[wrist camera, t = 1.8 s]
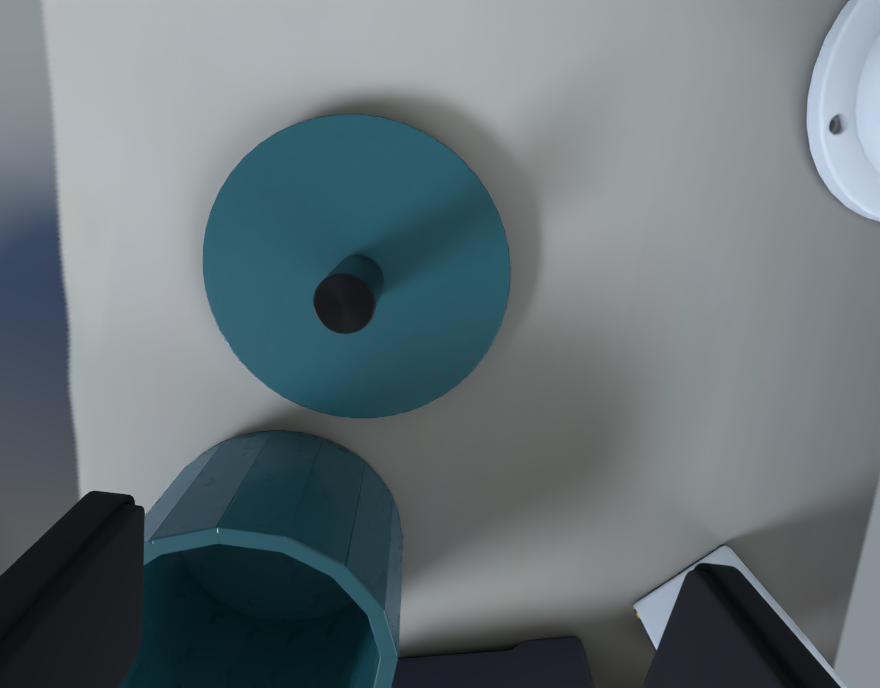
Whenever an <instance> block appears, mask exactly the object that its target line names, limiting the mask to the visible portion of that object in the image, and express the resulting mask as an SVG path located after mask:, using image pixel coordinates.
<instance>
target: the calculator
mask: <svg viewBox="0 0 880 688" xmlns="http://www.w3.org/2000/svg"><path fill="white" fill-rule="evenodd" d="M391 688H595V685H594V681H593V678H592V675H591V671H590V668H589V664H588V661H587V658H586V654H585V651H584V648H583V644H582V641H581V640H580V639H579V638H560V639H547V640H534V641H524V642H523V643H521V644H520V645H518V646H517V647H515V648H514V649H512V650H508V651H497V652H483V653H470V654H457V655H443V656H430V657H417V658H403V659H398V661H397V665H396V669H395V674H394V678H393V682H392V687H391Z"/></svg>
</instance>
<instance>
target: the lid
mask: <svg viewBox="0 0 880 688" xmlns="http://www.w3.org/2000/svg"><path fill="white" fill-rule="evenodd" d="M203 274H204V281H205V289H206V293H207V297H208V301H209V304H210V308H211V311H212V313H213V316H214V318H215V321H216V323H217V325H218V328H219V330H220V331H221V333H222V335H223V337H224V338H225V340H226V342H227V344H228V345H229V347H230V348H231V349H232V351H233V352H234V353H235V355H236V356H237V357H238V359H239V360H240V361H241V362H242V363H243V364H244V365H245V366H246V368H247V369H248V370H249V371H250V372H251V373H252V374H253V375H254V376H255V377H257V378H258V379H259V380H260V381H262V382H263V383H264V384H265V385H266V386H268V387H269V388H270V389H272V390H274V391H275V392H277V393H278V394H280V395H281V396H283V397H284V398H286V399H289V400H291V401H293V402H295V403H297V404H299V405H301V406H303V407H306V408H309V409H312V410H315V411H318V412H321V413H326V414H330V415H334V416H340V417H350V418H377V417H384V416H392V415H396V414H400V413H404V412H407V411H411V410H413V409H416V408H418V407H421V406H423V405H426V404H428V403H430V402H432V401H434V400H435V399H437V398H439V397H441V396H443V395H444V394H446V393H447V392H448V391H450V390H451V389H453V388H454V387H455V386H457V385H458V384H459V383H460V382H461V381H462V380H463V379H464V378H466V377H467V376H468V375H469V374H470V373H471V372H472V371H473V369H474V368H475V367H476V366H477V365H478V363H479V362H480V361H481V360H482V359H483V357H484V355H485V354H486V352H487V351H488V349H489V348H490V346H491V344H492V343H493V341H494V339H495V336H496V334H497V332H498V330H499V328H500V326H501V323H502V319H503V316H504V313H505V310H506V306H507V300H508V295H509V289H510V258H509V248H508V244H507V239H506V235H505V230H504V227H503V224H502V222H501V219H500V216H499V213H498V211H497V209H496V207H495V205H494V203H493V201H492V199H491V197H490V195H489V193H488V191H487V190H486V189H485V187H484V186H483V184H482V183H481V181H480V180H479V179H478V177H477V176H476V174H475V173H474V172H473V171H472V170H471V169H470V168H469V167H468V166H467V165H466V163H465V162H464V161H463V160H462V159H461V158H460V157H459V156H457V155H456V154H455V153H454V152H453V151H451V150H450V149H449V148H448V147H447V146H445V145H444V144H443V143H441V142H439V141H438V140H436V139H435V138H433V137H431V136H430V135H428V134H427V133H425V132H423V131H420V130H418V129H416V128H414V127H412V126H409V125H407V124H405V123H401V122H398V121H394V120H391V119H388V118H384V117H378V116H371V115H364V114H337V115H330V116H322V117H317V118H313V119H310V120H306V121H303V122H299V123H297V124H294V125H292V126H290V127H288V128H286V129H283V130H281V131H279V132H277V133H276V134H274V135H272V136H271V137H269V138H268V139H266V140H265V141H263V142H262V143H260V144H259V145H258V146H257V147H255V148H254V149H253V150H252V151H251V152H250V153H249V154H247V155H246V156H245V157H244V158H243V159H242V161H241V162H240V163H239V164H238V165H237V166H236V168H235V169H234V170H233V171H232V172H231V173H230V175H229V177H228V178H227V180H226V181H225V183H224V185H223V186H222V188H221V189H220V191H219V193H218V196H217V198H216V200H215V202H214V205H213V207H212V209H211V212H210V216H209V219H208V223H207V227H206V231H205V238H204V245H203Z"/></svg>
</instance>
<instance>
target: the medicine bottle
mask: <svg viewBox="0 0 880 688" xmlns="http://www.w3.org/2000/svg"><path fill="white" fill-rule="evenodd" d="M699 563H711V564H720V565H728V566H733V567H735V568H737V569H738V570H739V571H740V572H741V573H742V574H743V575H744V576H745V577H746V578H747V580H748V581H749V582H750V583H751V584H752V585H753V586H754V588H755V589H756V590H757V591H758V592H759V593H760V595H761V596H762V597H763V598H764V599H765V600H766V602H767V603H768V604H769V605H770V606H771V607H772V608H773V610H774V611H775V612H776V613H777V614H778V615H779V617H780V618H781V619H782V620H783V621H784V622H785V623H786V625H787V626H788V627H789V628H790V629H791V630H792V632H793V633H794V634H795V635H796V636H797V637H798V638H799V640H800V641H801V642H802V643H803V644H804V645H805V647H806V648H807V649H808V650H809V651H810V652H811V653H812V655H813V656H814V657H815V658H816V659H817V660H818V662H819V663H820V664H821V665H822V666H823V667H824V669H825V670H826V671H827V672H828V673H829V674H830V675H831V677H832V678H833V679H834V680H835V681H836V682H837V684H838V685H839V686H840V687H841V688H848V687H847V686H846V685H845V684H844V682H843V681H842V680H841V679H840V678H839V676H838V675H837V674H836V673H835V671H834V670H833V669H832V668H831V667H830V665H829V664H828V663H827V662H826V660H825V659H824V658H823V657H822V656H821V654H820V653H819V652H818V651H817V649H816V648H815V647H814V646H813V645H812V643H811V642H810V641H809V640H808V638H807V637H806V636H805V635H804V634H803V632H802V631H801V630H800V629H799V628H798V627H797V625H796V624H795V623H794V622H793V621H792V620H791V618H790V617H789V616H788V615H787V614H786V613H785V611H784V610H783V609H782V608H781V607H780V606H779V604H778V603H777V602H776V601H775V600H774V598H773V597H772V596H771V595H770V594H769V593H768V591H767V590H766V589H765V588H764V587H763V586H762V584H761V583H760V582H759V581H758V580H757V579H756V577H755V576H754V575H753V574H752V573H751V572H750V570H749V569H748V568H747V567H746V566H745V565H744V563H743V562H742V561H741V560H740V559H739V557H738V556H737V555H736V554H735V553H734V552H733V550H732V549H731V548H729V547H728V546H721V547H720V548H718V549H717V550H715V551H714V552H712V553H711V554H709V555H708V556H706V557H705V558H703V559H701V560H700V561H698V562H697V563H695V564H694V565H692V566H691V567H689V568H688V569H686V570H685V571H683V572H682V573H680V574H679V575H677V576H676V577H674V578H673V579H671V580H670V581H668V582H667V583H665V584H664V585H662V586H661V587H659V588H657V589H656V590H654V591H653V592H651V593H650V594H648V595H647V596H645V597H644V598H642V599H641V600H639V601H638V602H636V603H635V604H634V611H635V613H636V615H637V617H638V619H639V621H640V623H641V625H642V627H643V629H644V631H645V633H646V635H647V637H648V639H649V641H650V643H651V645H652V647H653V649H654V651H655V653H656V651H657V648H658V645H659V643H660V640H661V638H662V635H663V632H664V630H665V627H666V625H667V622H668V620H669V617H670V614H671V612H672V609H673V607H674V604H675V601H676V599H677V596H678V594H679V591H680V589H681V586H682V583H683V581H684V578H685V576H686V574H687V573H688V572H689V571H690V570H694V568H695V566H696V565H698V564H699Z"/></svg>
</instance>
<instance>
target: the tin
mask: <svg viewBox="0 0 880 688" xmlns="http://www.w3.org/2000/svg"><path fill="white" fill-rule="evenodd" d="M402 556H403V533H402V530H401V523H400V518H399V513H398V510H397V507H396V504H395V501H394V499H393V497H392V495H391V493H390V491H389V489H388V488H387V486H386V485H385V483H384V482H383V481H382V479H381V478H380V476H379V475H378V474H377V473H376V472H375V471H374V470H373V469H372V468H371V467H370V466H369V465H368V464H367V463H365V462H364V461H363V460H362V459H361V458H359V457H358V456H357V455H355V454H354V453H352V452H350V451H349V450H347V449H346V448H344V447H342V446H340V445H338V444H335V443H333V442H331V441H329V440H326V439H323V438H320V437H317V436H313V435H309V434H304V433H299V432H290V431H263V432H256V433H249V434H246V435H242V436H238V437H234V438H232V439H229V440H227V441H224V442H222V443H220V444H218V445H216V446H214V447H213V448H211V449H209V450H207V451H206V452H205V453H203V454H202V455H201V456H199V457H198V458H197V459H196V460H195V461H194V462H192V463H191V464H189V465H187V466H186V467H185V468H184V469H183V470H182V472H181V473H180V474H179V475H178V477H177V478H176V479H175V480H174V481H173V483H172V484H171V485H170V486H169V488H168V489H167V490H166V491H165V492H164V494H163V495H162V496H161V497H160V499H159V500H158V501H157V502H156V503H155V505H154V506H153V507H152V508H151V510H150V511H149V512H148V513H147V514H146V516H145V521H144V565H143V609H142V639H141V644H140V648H139V651H138V654H137V656H136V659H135V661H134V663H133V665H132V667H131V668H130V670H129V672H128V674H127V675H126V677H125V679H124V681H123V682H122V684H121V686H120V688H391V687H392V682H393V678H394V674H395V669H396V665H397V661H398V653H399V629H400V605H401V580H402Z"/></svg>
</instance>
